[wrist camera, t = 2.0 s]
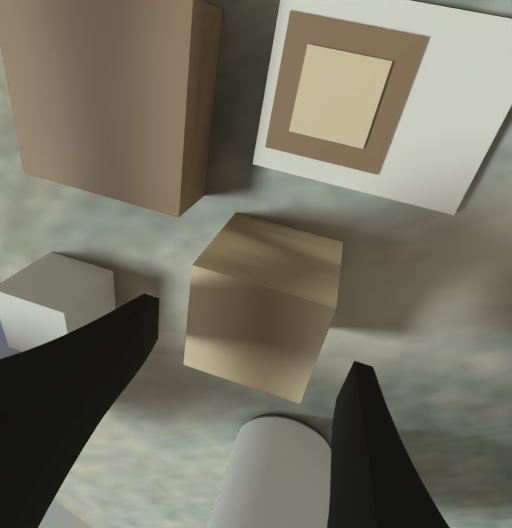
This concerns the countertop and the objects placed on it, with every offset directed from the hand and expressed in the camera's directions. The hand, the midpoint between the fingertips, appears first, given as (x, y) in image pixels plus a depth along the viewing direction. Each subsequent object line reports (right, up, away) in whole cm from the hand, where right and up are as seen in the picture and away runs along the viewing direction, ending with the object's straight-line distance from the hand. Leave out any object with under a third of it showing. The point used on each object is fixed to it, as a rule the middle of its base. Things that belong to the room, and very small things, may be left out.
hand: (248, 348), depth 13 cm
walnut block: (-5, +10, +2) cm, 12 cm away
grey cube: (-10, +2, +9) cm, 13 cm away
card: (+5, +9, 0) cm, 10 cm away
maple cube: (+1, +3, +5) cm, 6 cm away
